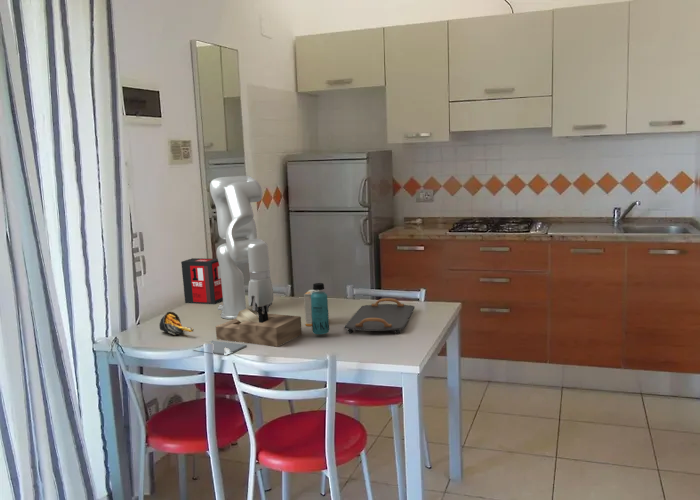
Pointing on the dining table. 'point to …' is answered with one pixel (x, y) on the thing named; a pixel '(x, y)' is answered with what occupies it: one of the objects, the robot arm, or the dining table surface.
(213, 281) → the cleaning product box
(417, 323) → the dining table surface
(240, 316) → the maple bar
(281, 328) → the slotted wooden block
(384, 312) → the serving board
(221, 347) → the rubber mat
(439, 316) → the dining table surface
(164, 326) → the fried shrimp in bowl
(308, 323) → the supplement box
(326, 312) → the beverage bottle
